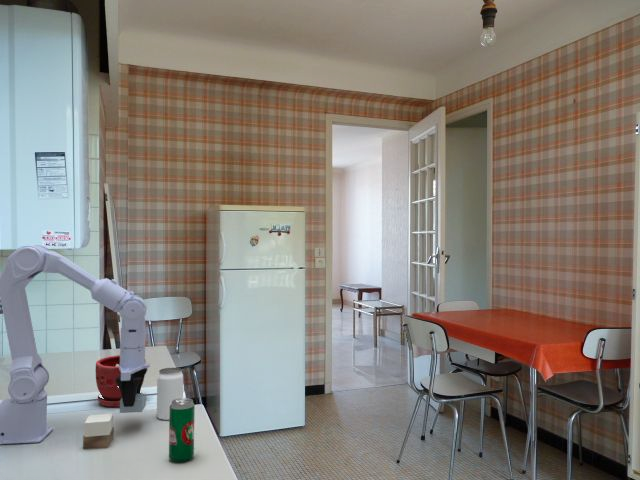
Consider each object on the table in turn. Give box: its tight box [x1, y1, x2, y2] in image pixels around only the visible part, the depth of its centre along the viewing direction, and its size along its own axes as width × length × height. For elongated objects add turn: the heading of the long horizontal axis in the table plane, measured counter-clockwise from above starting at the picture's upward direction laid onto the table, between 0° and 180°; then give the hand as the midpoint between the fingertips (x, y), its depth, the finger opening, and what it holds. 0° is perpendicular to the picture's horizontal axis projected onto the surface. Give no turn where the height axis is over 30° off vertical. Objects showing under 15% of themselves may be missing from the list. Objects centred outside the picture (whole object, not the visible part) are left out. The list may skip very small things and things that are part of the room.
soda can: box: [168, 397, 196, 464], centre depth 103 cm, size 5×5×12 cm
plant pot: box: [95, 354, 147, 407], centre depth 138 cm, size 13×13×12 cm
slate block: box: [119, 392, 147, 414], centre depth 119 cm, size 5×5×3 cm
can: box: [156, 367, 184, 421], centre depth 127 cm, size 6×6×12 cm
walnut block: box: [82, 426, 114, 450], centre depth 109 cm, size 5×5×3 cm
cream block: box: [84, 413, 114, 437], centre depth 109 cm, size 5×5×3 cm
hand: (131, 402), depth 119 cm, fingers closed on slate block, 5 cm apart
